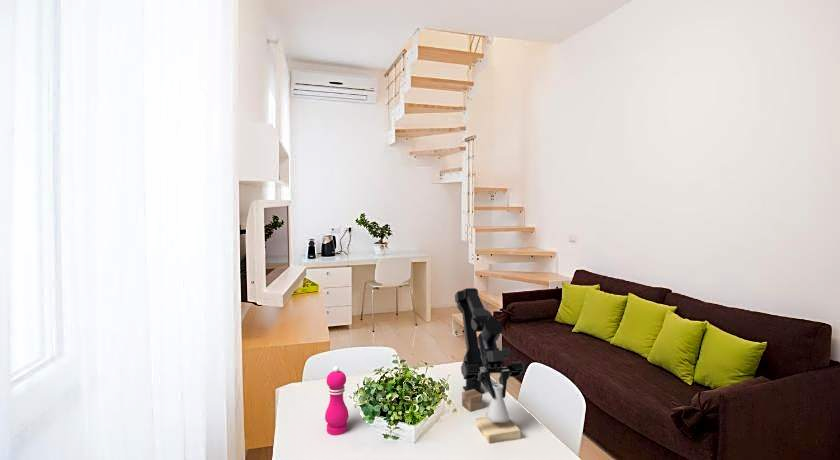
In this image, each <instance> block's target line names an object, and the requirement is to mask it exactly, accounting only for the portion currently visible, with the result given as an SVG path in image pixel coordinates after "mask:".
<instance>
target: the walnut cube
mask: <svg viewBox="0 0 840 460" xmlns="http://www.w3.org/2000/svg"><path fill="white" fill-rule="evenodd" d="M461 406H462V407H463V408H465V410H467V411H468V412H469V413H472V412H475V411H479V410H483V393H479V392H478V391H476V390H475V389H472V390H468V391H465V390H464V391H462V392H461Z"/></svg>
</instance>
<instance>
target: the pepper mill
mask: <svg viewBox="0 0 840 460" xmlns="http://www.w3.org/2000/svg"><path fill="white" fill-rule="evenodd" d="M346 382H347V376H346V374H345V372H344V371H341V370H340V368H339V366H337V365H335V366H334V367H333V369H332V371H331V372H330V373H328V374H327V377H326V386H328V390H327V394H329V403H328V405H327V408H326V409H325V413H324V419H325V422H326V433H327V434H329V435H333V436H338V435H343V434H344V433H346V432H347V431H348V422H347V421H348V419H349V417H350V415H349V410H348V407H347V405H346V403H345V400H344V392H345V390H346V389H345V387H346V386H345V384H346Z"/></svg>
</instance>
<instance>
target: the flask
mask: <svg viewBox="0 0 840 460" xmlns="http://www.w3.org/2000/svg"><path fill="white" fill-rule="evenodd" d="M492 386H493V390H494V394H495V398H494V399H493V398H492V397H491V399H490V403H489V405H488V408H487V409H486V413H485V414H486V415H485V416H486V417H487V418H488V419H489V420H491V421H492V422H502V423H503V422H506V421H508V420H511V419H510V415H509V414H510V413H509V412H508V409H507V406H506V404H505V400H504V399H505V398H503V394H502V389H503V385H502V384H500V383H492Z"/></svg>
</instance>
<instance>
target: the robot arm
mask: <svg viewBox="0 0 840 460" xmlns="http://www.w3.org/2000/svg"><path fill="white" fill-rule="evenodd" d="M454 300H455V301H454V302H455V303H456V306H457V309H458V311H459V312H460V313H461V314H462V322H463V330H464V331H463V332H464V337H465V345H466V352H465V354H464V357H463V361H462V364H461V366H460V369H461V374H462V376H463V380H465V386H464V385H463V386H462V389H463V390H464V391H468V390H472V389H475V390H476V391H478V392H479V393H481V394H485V390H484V389H483V388H482V385H483V386H484V387H485V389H486V390H487V392H488V393H489V394H490V396H491V399H492V398H493V399H494V398H495V394H494V388H493V383H492V380H491V374H499V378H498V381H499V384H502V385H503V389H502V394H503V399H505V398H506V394H507V393H506V392H507V385H508V384H507V383H508V380H509V379H510V378H513V377H514V378H515V377H521V376H522V374H523V373H524V371H525V365H524V363H523V362H522V361H510V362H509V364H508V365H504V363H505V362H507V361H506V360H507V359H510V358H512V355H511V350H510V347H508V346H507V347H502V348H501V349H500V348H499V347H498V344H497V341H498V340H499V338H500V336H501V334H502V332H503V329H504V326H503V324H502V323H501V321H500V320H498V319H496V317H495V315H493V314H492V313H491V311H490V310H488V309H485V307H484V304H483V302H482V299H481V298H480V296H479V290H478V289H477V288H476V287H470V288H469V287H468V288H463V289H462V290H458V291H457V292H456V293H455V294H454ZM479 332H480V333H479ZM478 333H479V334H478ZM502 365H504V366H502Z"/></svg>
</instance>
